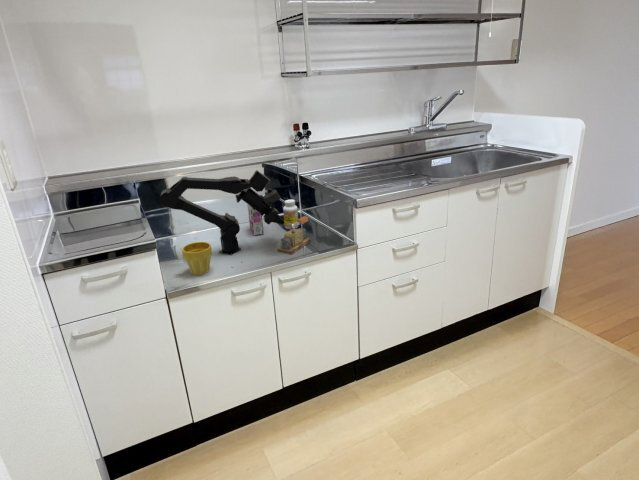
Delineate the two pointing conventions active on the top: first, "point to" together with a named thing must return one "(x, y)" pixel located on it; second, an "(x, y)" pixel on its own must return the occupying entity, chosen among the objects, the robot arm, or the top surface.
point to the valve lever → (299, 222)
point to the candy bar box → (255, 221)
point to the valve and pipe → (293, 238)
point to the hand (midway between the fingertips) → (283, 222)
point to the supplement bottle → (290, 213)
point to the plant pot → (198, 256)
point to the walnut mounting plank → (294, 247)
